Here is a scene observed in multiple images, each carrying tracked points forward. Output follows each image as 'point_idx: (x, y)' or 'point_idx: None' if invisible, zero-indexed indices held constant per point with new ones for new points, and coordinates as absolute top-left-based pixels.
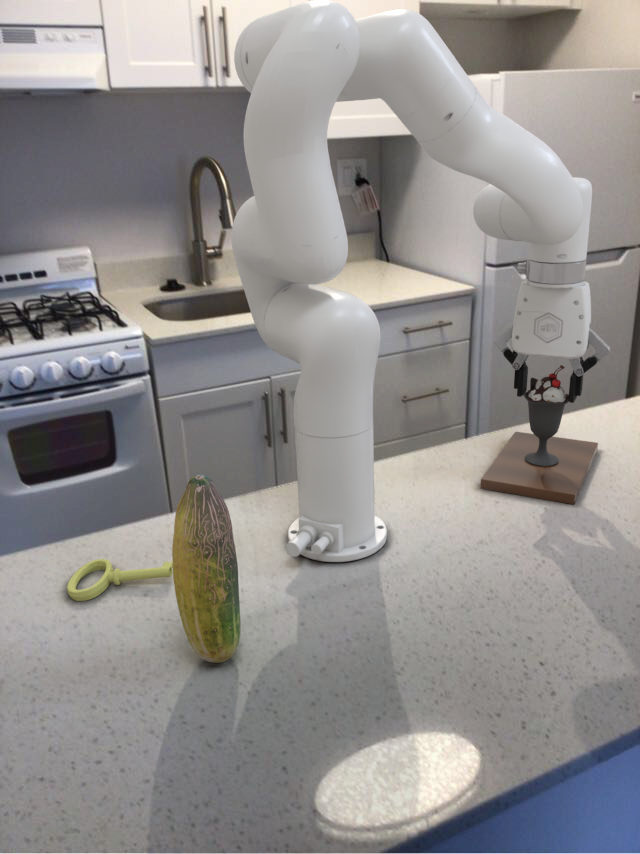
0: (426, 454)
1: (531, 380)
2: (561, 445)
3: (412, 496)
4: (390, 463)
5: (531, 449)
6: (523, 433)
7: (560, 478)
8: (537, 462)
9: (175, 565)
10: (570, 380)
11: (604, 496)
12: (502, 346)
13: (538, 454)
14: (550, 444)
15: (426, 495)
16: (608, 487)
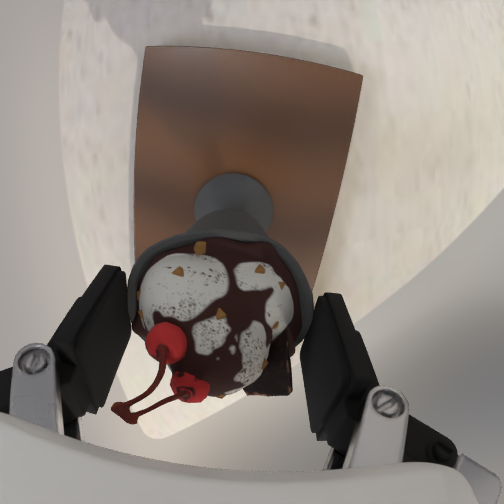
0: (452, 226)
1: (288, 381)
2: None
3: (461, 40)
4: (500, 177)
5: None
6: None
7: (181, 117)
8: (240, 181)
9: None
10: (85, 332)
11: (101, 110)
12: (468, 477)
13: (240, 205)
14: None
15: (443, 43)
16: (98, 154)
